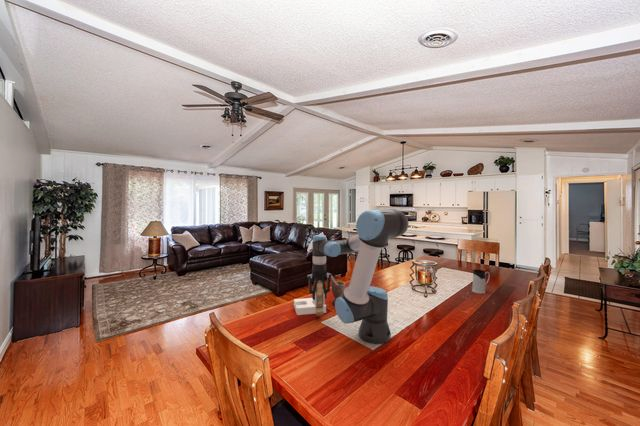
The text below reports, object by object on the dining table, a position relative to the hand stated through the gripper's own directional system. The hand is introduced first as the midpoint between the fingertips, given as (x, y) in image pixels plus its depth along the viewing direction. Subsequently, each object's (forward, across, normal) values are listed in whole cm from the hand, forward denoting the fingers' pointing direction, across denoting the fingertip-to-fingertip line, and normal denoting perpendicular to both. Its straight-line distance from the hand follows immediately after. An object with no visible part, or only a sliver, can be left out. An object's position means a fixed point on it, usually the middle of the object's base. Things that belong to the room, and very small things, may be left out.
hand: (319, 304), depth 147 cm
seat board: (+7, +3, -13) cm, 15 cm away
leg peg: (+5, 0, 0) cm, 5 cm away
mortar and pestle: (+7, -15, -17) cm, 23 cm away
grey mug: (+8, -126, -18) cm, 127 cm away
